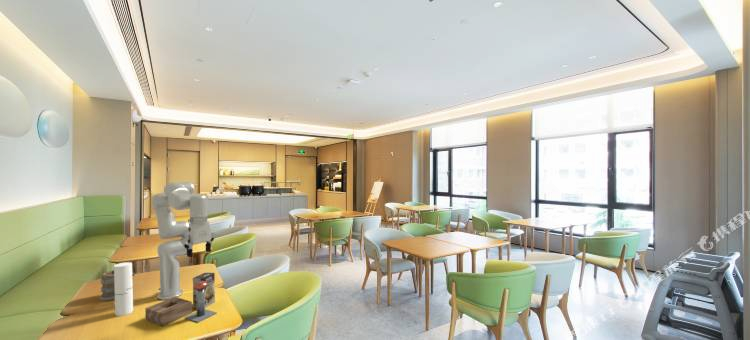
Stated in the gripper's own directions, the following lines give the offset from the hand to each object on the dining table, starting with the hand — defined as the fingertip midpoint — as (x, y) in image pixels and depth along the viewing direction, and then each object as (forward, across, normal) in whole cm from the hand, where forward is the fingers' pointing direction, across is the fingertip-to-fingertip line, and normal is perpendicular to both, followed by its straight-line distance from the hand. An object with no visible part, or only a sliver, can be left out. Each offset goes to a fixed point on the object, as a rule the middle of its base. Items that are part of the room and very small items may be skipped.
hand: (199, 254), depth 153 cm
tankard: (+32, -4, +65) cm, 73 cm away
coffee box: (+31, +9, +9) cm, 34 cm away
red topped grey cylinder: (+31, 0, -1) cm, 31 cm away
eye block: (+31, -7, +13) cm, 35 cm away
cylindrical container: (+32, -14, +39) cm, 52 cm away
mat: (+31, 0, -1) cm, 31 cm away
